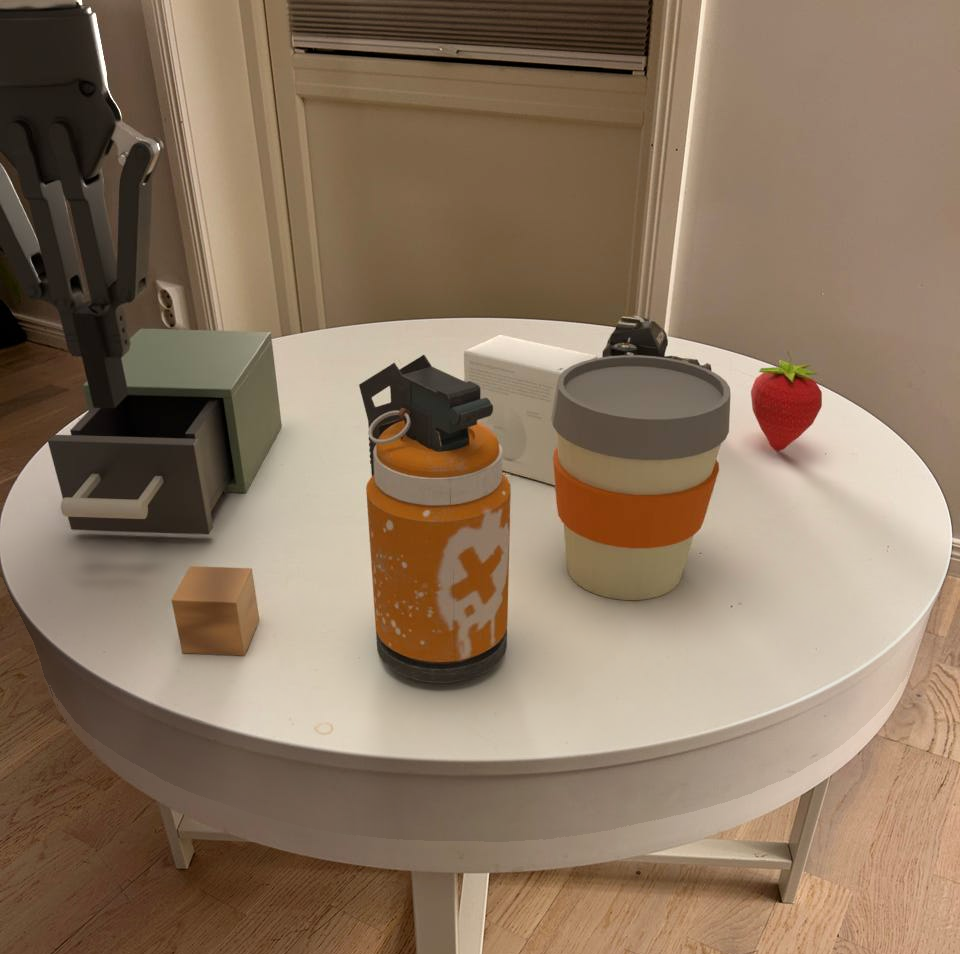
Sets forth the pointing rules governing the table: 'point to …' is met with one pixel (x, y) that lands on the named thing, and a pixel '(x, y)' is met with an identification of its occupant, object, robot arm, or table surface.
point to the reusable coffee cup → (635, 468)
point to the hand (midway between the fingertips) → (111, 400)
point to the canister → (436, 525)
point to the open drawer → (145, 465)
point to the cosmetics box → (521, 399)
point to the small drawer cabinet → (213, 384)
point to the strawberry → (785, 402)
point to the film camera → (641, 340)
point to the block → (216, 610)
